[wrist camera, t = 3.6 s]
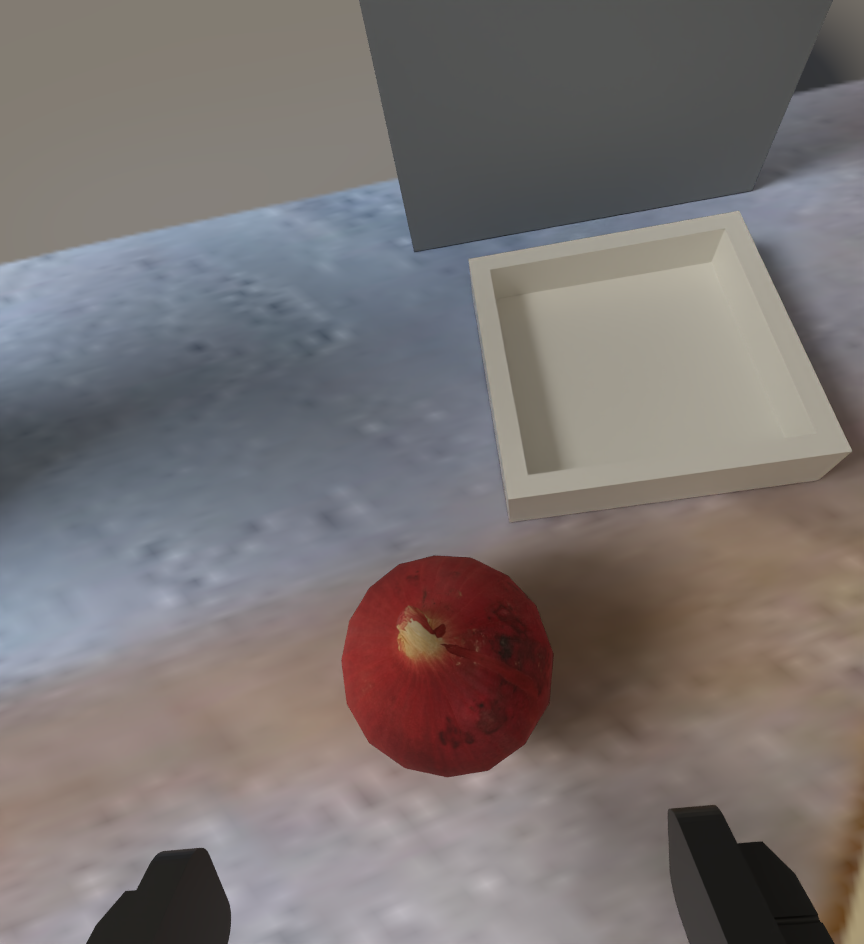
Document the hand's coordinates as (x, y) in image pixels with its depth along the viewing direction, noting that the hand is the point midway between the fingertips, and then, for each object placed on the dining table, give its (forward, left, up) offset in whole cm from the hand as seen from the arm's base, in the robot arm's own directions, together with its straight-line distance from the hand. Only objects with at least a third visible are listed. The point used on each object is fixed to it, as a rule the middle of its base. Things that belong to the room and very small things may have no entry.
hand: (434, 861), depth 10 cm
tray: (-6, +16, -9) cm, 19 cm away
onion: (-3, +3, -9) cm, 10 cm away
